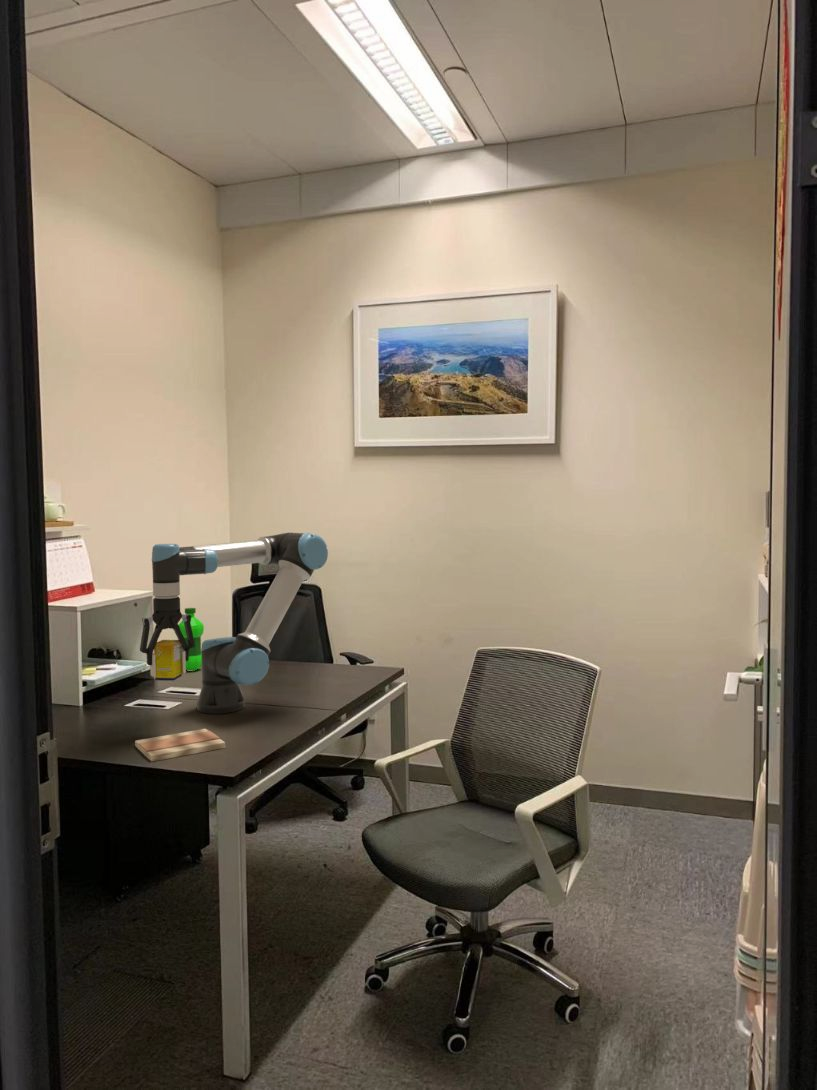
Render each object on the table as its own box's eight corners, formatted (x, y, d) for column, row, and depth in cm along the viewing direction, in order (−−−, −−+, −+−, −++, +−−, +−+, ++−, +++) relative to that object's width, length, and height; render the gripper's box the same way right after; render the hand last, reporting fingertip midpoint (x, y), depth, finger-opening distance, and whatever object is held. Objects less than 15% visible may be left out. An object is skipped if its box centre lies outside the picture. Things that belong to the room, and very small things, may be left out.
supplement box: (162, 675, 232) (161, 639, 232) (182, 676, 232) (181, 639, 231) (154, 680, 227) (153, 643, 226) (174, 680, 226) (173, 643, 225)
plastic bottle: (199, 673, 309) (197, 610, 308) (173, 672, 311) (172, 610, 309) (208, 667, 319) (207, 607, 318) (184, 667, 321) (182, 606, 319)
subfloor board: (205, 733, 228) (205, 727, 228) (225, 747, 215) (225, 741, 215) (135, 745, 217) (135, 739, 217) (151, 761, 204) (151, 754, 204)
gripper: (197, 593, 237) (199, 667, 238) (126, 598, 225) (128, 676, 226) (205, 595, 230) (207, 671, 232) (132, 600, 219) (134, 681, 220)
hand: (168, 674), depth 229 cm, fingers closed on supplement box, 8 cm apart
